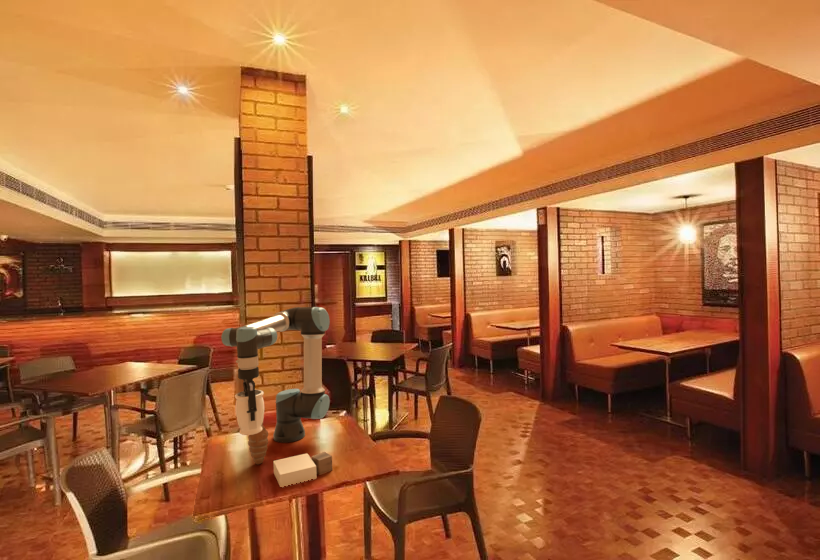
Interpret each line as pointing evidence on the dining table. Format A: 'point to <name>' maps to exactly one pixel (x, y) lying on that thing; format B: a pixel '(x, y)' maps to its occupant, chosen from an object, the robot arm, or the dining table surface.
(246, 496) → the dining table surface
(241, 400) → the jar
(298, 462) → the cream block
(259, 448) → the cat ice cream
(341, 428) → the dining table surface
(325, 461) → the walnut cube
